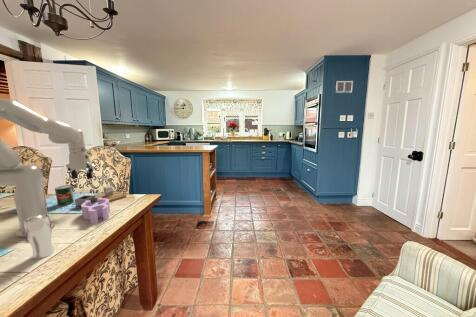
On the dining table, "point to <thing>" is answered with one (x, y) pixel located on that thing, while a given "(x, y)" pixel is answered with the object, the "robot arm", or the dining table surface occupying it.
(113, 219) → the dining table surface
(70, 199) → the canned tomato
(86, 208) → the clip
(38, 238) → the beer glass
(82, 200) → the collar
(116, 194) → the dock
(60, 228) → the dining table surface
